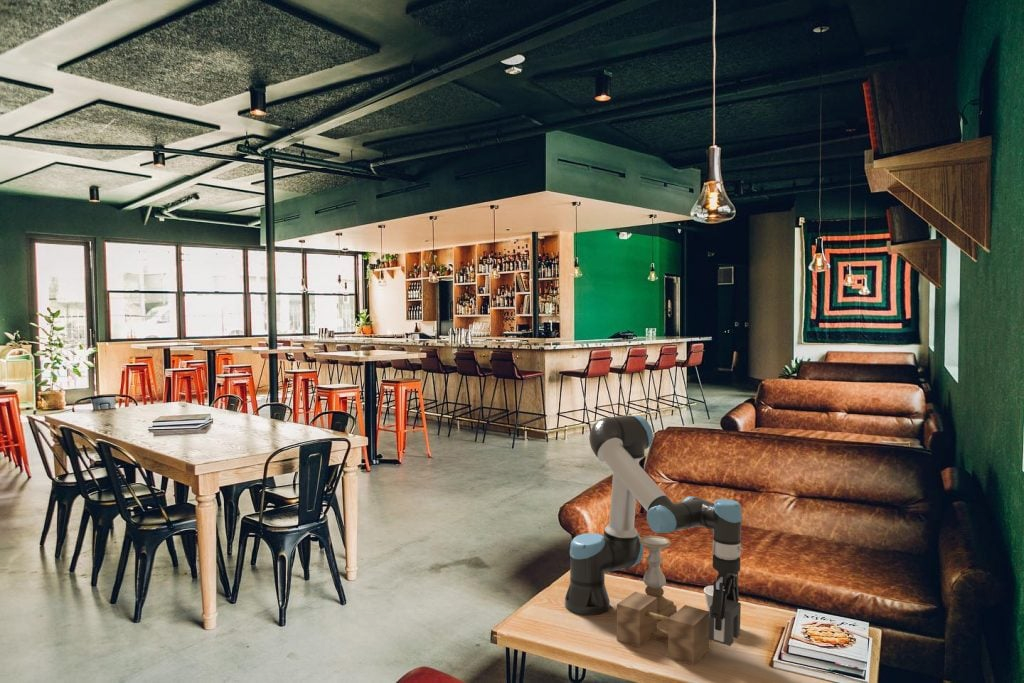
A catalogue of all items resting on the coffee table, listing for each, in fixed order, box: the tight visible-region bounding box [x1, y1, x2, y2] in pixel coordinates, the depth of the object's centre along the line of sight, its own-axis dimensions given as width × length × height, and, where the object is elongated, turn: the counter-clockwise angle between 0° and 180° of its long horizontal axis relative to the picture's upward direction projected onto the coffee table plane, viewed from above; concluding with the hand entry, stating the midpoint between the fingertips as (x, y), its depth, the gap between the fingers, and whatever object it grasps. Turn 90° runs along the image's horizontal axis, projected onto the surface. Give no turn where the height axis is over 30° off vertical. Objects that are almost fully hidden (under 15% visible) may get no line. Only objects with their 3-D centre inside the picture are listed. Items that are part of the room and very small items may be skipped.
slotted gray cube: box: [709, 599, 742, 647], centre depth 183 cm, size 6×8×9 cm
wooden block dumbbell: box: [616, 591, 710, 666], centre depth 191 cm, size 24×12×11 cm, turn 52°
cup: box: [703, 585, 725, 618], centre depth 204 cm, size 10×10×11 cm
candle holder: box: [639, 535, 678, 622], centre depth 215 cm, size 11×11×24 cm
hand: (724, 634), depth 183 cm, fingers closed on slotted gray cube, 8 cm apart
